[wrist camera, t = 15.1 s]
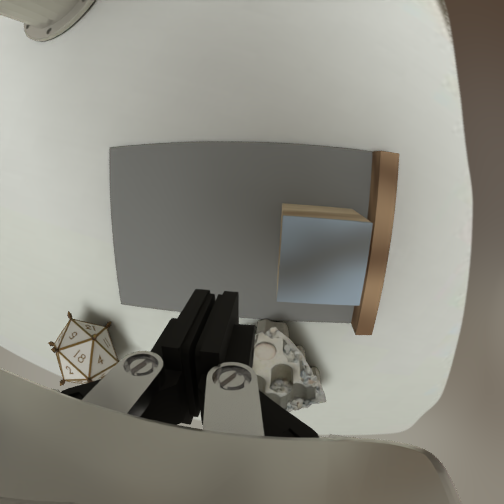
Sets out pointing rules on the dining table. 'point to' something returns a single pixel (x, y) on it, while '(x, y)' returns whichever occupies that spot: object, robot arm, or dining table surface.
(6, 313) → the dining table surface
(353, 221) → the block
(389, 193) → the rail
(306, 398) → the carved stone fragment
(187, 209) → the grey rectangular board
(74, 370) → the game die
